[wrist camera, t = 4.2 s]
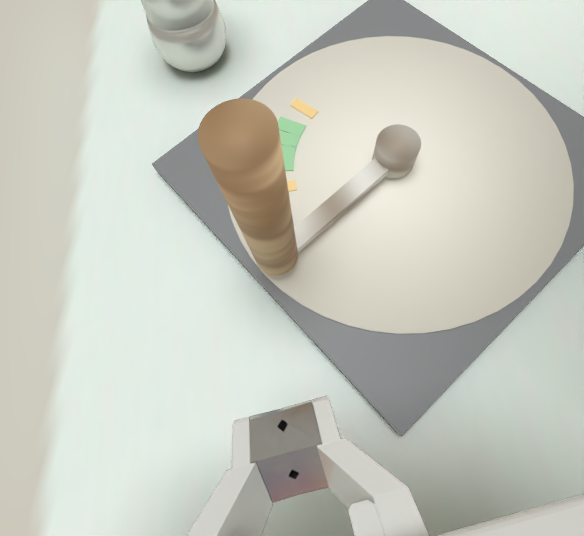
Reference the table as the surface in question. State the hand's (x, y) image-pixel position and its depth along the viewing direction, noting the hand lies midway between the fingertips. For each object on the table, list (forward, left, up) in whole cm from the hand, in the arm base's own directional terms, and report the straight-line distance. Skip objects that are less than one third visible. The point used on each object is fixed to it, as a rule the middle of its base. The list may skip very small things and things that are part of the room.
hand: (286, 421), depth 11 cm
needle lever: (-11, -9, -13) cm, 19 cm away
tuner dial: (-17, -9, -15) cm, 24 cm away
